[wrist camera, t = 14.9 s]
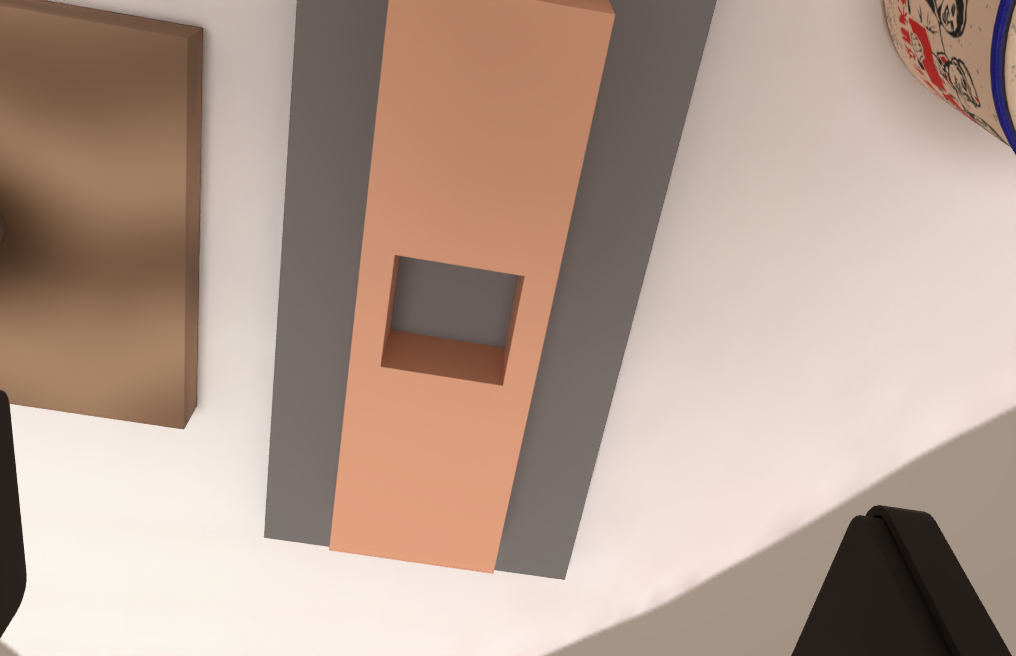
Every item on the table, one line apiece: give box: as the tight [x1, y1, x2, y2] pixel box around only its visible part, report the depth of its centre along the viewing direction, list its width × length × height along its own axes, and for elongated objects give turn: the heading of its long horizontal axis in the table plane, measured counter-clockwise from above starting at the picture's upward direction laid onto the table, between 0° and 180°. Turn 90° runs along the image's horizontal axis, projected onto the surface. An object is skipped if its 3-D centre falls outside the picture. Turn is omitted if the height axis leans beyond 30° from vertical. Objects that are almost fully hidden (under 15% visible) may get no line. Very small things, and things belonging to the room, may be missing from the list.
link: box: [329, 0, 615, 574], centre depth 31 cm, size 20×6×2 cm, turn 170°
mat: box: [264, 0, 717, 580], centre depth 33 cm, size 24×12×1 cm, turn 170°
